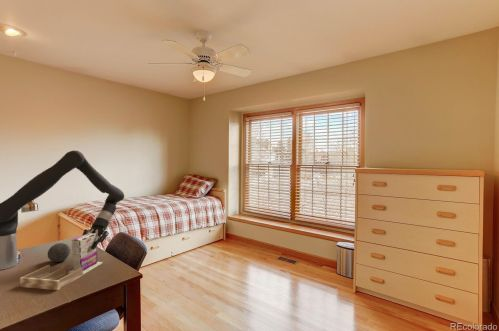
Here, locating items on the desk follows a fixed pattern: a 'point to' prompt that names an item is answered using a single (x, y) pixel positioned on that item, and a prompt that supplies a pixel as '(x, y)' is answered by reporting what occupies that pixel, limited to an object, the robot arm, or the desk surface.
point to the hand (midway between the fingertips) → (87, 248)
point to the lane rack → (49, 278)
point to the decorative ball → (58, 252)
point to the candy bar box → (84, 251)
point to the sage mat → (89, 268)
